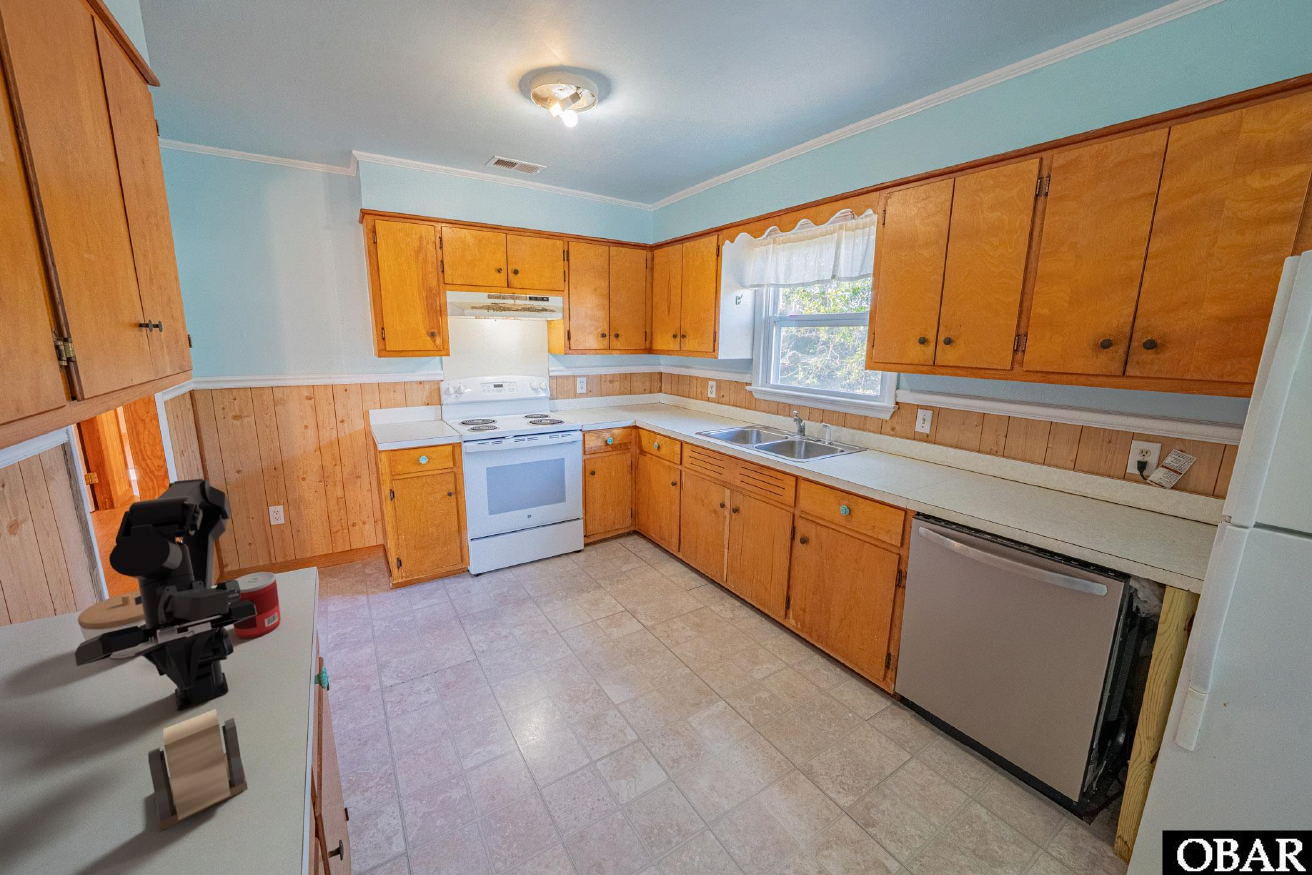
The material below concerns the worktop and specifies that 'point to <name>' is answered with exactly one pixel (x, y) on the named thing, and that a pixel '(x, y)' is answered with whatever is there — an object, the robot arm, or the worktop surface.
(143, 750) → the worktop surface
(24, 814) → the worktop surface
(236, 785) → the wooden phone stand
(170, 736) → the curved wooden panel
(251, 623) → the canned food
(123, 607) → the lidded bowl
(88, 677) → the worktop surface
